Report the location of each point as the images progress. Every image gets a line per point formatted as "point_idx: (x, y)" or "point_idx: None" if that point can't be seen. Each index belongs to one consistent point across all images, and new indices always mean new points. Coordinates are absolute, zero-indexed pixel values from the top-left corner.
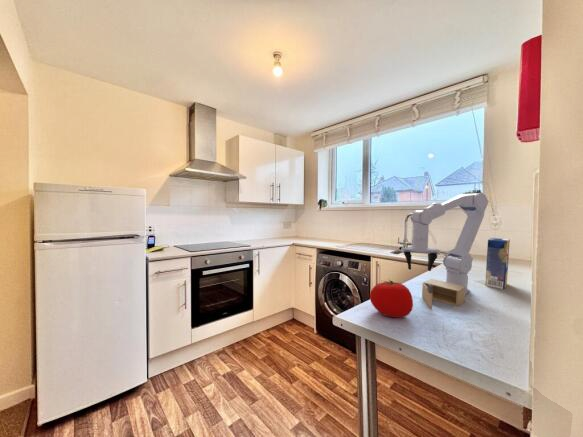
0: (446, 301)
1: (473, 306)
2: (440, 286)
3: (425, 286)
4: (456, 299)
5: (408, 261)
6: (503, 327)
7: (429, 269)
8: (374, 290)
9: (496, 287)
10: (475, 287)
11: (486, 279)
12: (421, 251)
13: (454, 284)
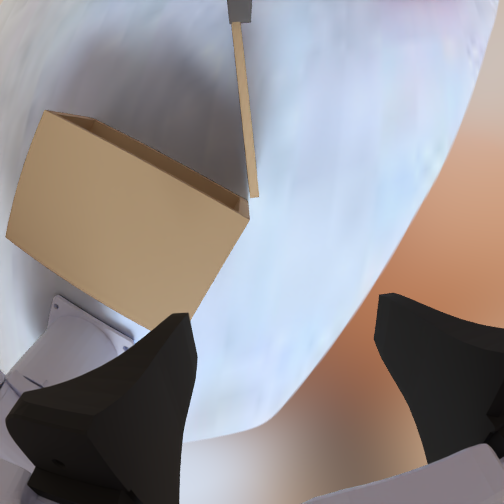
0: (130, 140)
1: None
2: (130, 154)
3: (249, 105)
4: (80, 117)
5: (460, 320)
6: (24, 7)
7: (180, 317)
8: None
9: None
10: None
11: None
12: (454, 465)
13: (47, 255)
